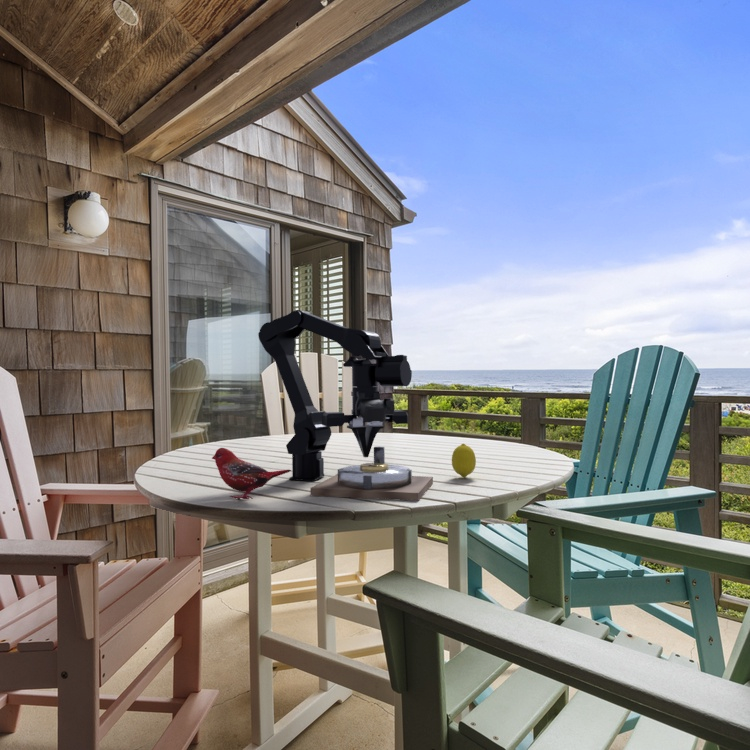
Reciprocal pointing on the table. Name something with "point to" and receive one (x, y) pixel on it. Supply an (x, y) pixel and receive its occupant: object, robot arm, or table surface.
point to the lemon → (463, 460)
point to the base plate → (374, 490)
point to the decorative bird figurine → (242, 473)
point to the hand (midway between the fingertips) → (365, 457)
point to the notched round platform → (375, 474)
